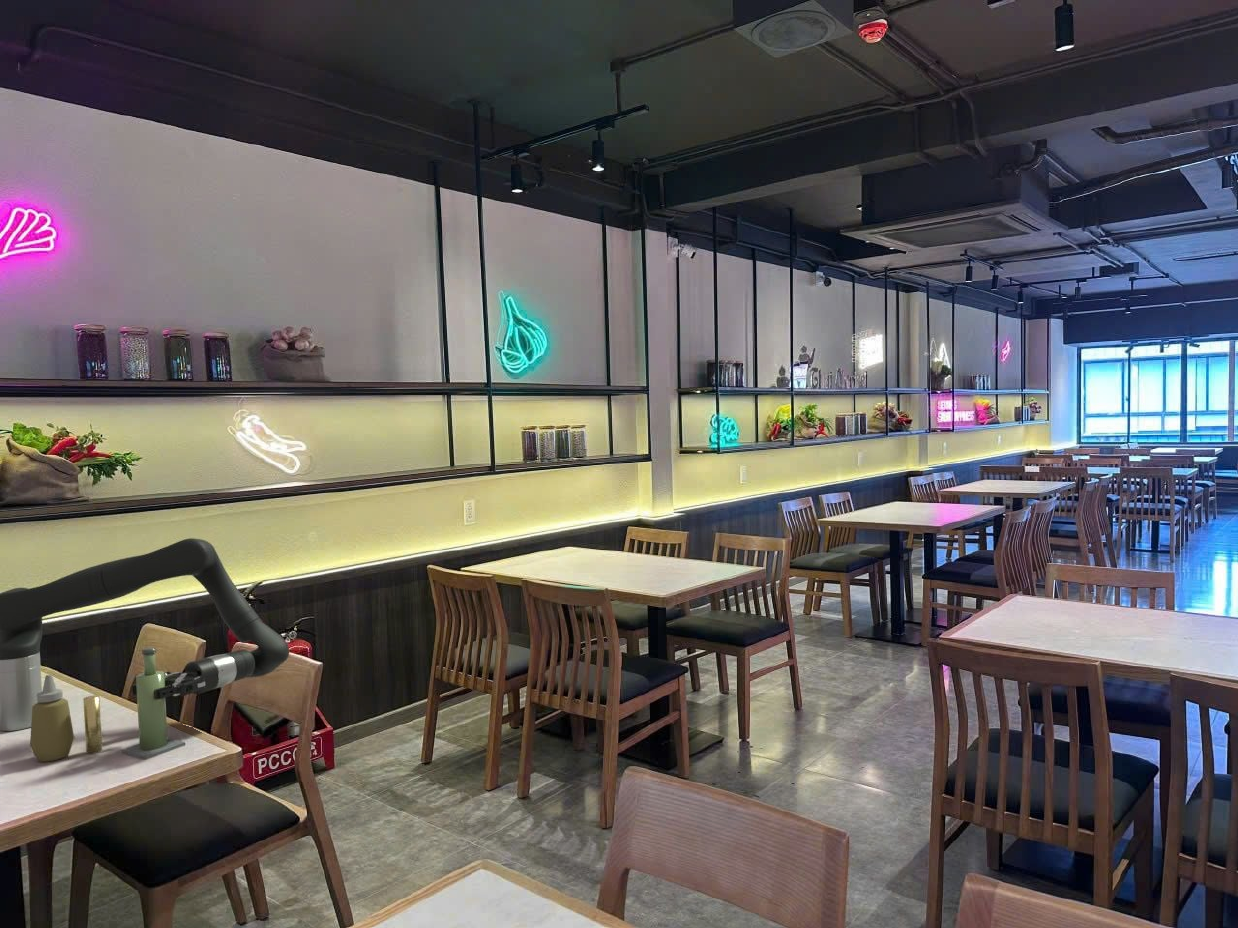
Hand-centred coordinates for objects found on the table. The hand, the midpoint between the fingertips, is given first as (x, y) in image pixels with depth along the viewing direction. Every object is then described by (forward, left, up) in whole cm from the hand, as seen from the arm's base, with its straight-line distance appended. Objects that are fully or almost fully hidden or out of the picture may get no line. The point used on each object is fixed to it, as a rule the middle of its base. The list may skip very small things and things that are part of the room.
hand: (143, 692), depth 183 cm
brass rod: (-11, -5, -13) cm, 18 cm away
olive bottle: (0, +2, -12) cm, 13 cm away
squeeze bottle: (-16, -11, -13) cm, 23 cm away
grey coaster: (0, +2, -13) cm, 13 cm away
